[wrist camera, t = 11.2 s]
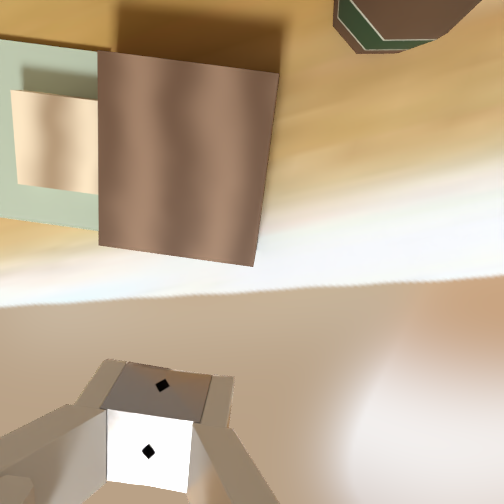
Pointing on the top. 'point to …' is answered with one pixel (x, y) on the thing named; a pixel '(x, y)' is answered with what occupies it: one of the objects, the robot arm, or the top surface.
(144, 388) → the robot arm
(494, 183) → the top surface
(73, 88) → the rubber mat
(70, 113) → the birch tile
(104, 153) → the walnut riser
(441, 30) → the beer bottle
